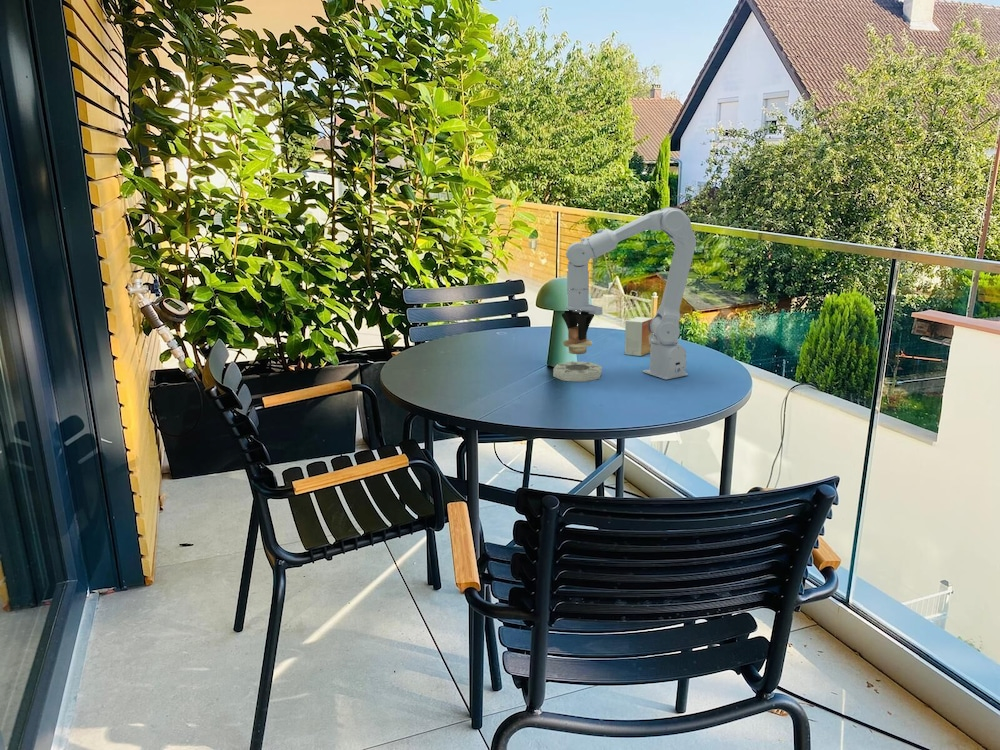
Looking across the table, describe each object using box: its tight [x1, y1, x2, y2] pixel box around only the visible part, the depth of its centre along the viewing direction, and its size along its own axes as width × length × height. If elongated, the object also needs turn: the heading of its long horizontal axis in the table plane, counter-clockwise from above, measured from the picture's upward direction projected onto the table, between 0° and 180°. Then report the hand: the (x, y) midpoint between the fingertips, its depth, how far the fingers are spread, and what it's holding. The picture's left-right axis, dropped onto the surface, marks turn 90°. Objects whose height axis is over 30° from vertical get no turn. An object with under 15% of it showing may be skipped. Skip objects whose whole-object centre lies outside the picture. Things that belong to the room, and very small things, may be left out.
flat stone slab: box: [552, 360, 603, 383], centre depth 192 cm, size 12×12×2 cm
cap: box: [562, 325, 593, 355], centre depth 190 cm, size 8×8×7 cm
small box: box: [624, 316, 654, 357], centre depth 214 cm, size 8×6×10 cm
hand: (577, 338), depth 190 cm, fingers closed on cap, 2 cm apart
